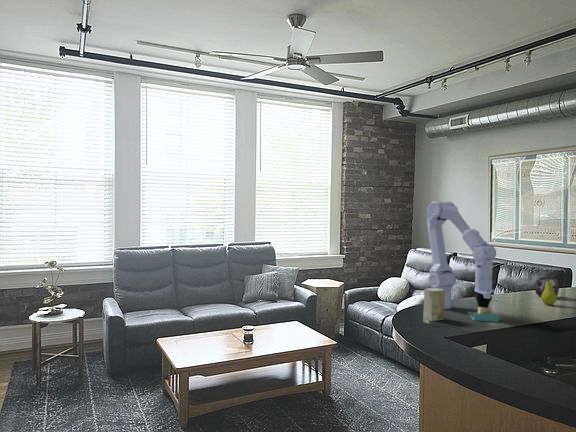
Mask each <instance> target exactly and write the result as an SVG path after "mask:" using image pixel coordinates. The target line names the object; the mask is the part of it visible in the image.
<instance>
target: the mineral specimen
mask: <svg viewBox="0 0 576 432" xmlns="http://www.w3.org/2000/svg"><path fill="white" fill-rule="evenodd" d="M544 277H545V278H546V279H545V278H544ZM544 277H543V276H542V277H538V278H536V282H535V284H534V285H535V286H534V291H535V294H536V295H537V296H538V297H541V296H542V293H543V292H544V289H545V285H546V280H547V281H549V282H550V283H551V285H552V287H553V290H554V292H555V294H556V296H557V297H558V296H559V291H560V286H559V281H558V280H557V279H555V278H553V277H546V276H544Z"/></svg>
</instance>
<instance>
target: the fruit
mask: <svg viewBox="0 0 576 432" xmlns="http://www.w3.org/2000/svg"><path fill="white" fill-rule="evenodd" d="M545 277H546V276H544V278H545ZM545 279H546V278H545ZM540 297H541V301H542V302H543V304H544V305H546V306H552V305H554V304H555V303H556V302H557V299H558V295H557V296H556V294H555V292H554V290H553V287H552V285H551V283H550V282H549V281H547V280H546V285H545V289H544V292H543V293H542V296H540Z"/></svg>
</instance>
